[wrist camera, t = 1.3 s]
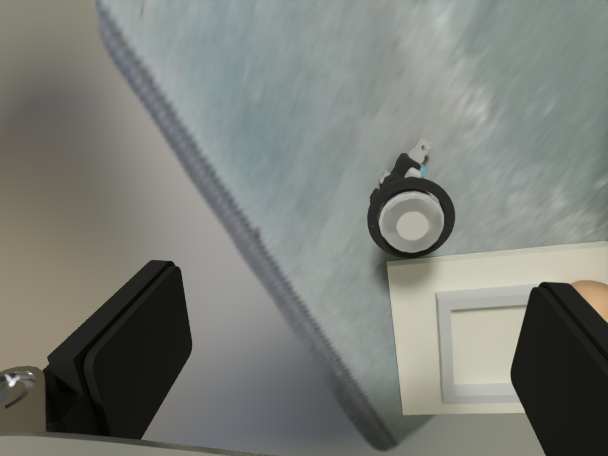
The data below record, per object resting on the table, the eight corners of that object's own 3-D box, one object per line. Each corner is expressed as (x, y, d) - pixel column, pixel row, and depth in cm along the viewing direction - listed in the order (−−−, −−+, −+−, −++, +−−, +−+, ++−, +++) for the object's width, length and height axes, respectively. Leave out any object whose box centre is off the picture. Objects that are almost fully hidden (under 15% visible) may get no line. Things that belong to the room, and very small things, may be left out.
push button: (397, 122, 30) (414, 146, 21) (453, 156, 31) (493, 193, 22) (353, 191, 33) (351, 239, 24) (405, 221, 34) (423, 279, 24)
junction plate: (605, 240, 32) (637, 263, 28) (585, 403, 38) (609, 438, 35) (386, 261, 35) (389, 284, 32) (402, 407, 42) (406, 440, 38)
